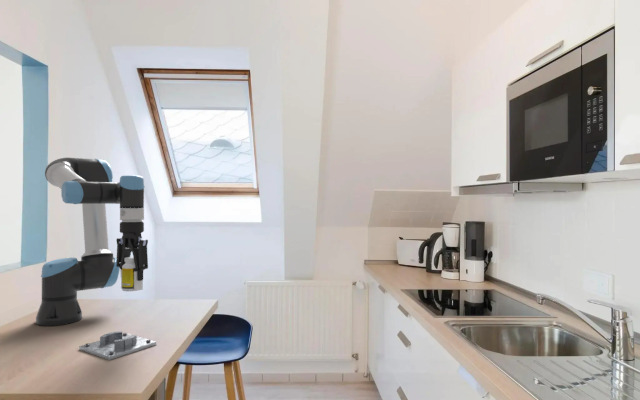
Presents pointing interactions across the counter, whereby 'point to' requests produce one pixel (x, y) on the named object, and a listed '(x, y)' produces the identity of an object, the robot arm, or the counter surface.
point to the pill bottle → (128, 274)
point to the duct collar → (116, 345)
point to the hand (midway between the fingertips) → (131, 289)
